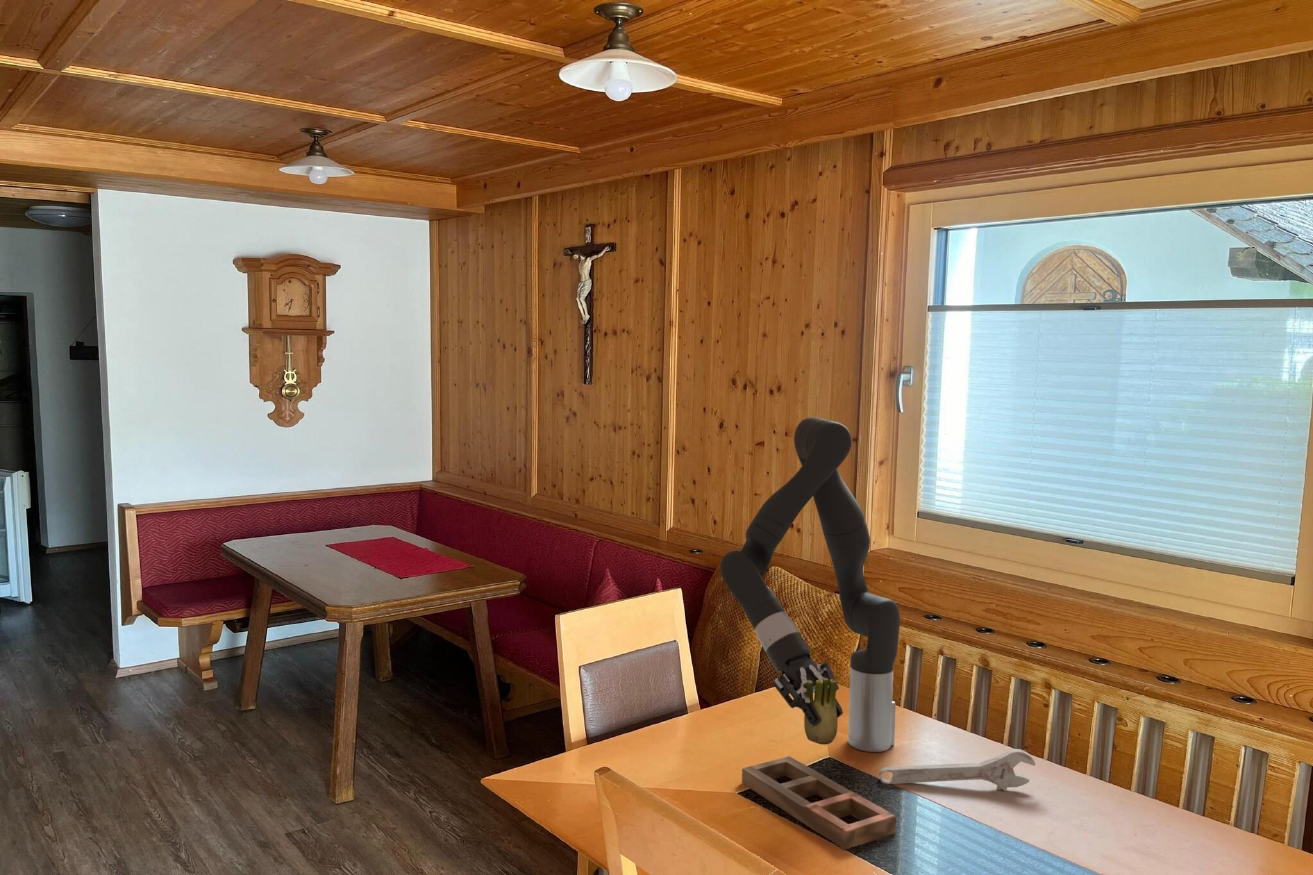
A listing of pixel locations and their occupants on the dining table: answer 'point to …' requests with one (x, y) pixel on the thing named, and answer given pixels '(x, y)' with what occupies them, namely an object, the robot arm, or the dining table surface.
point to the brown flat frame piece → (819, 802)
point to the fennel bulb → (822, 711)
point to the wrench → (966, 771)
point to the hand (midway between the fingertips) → (828, 719)
